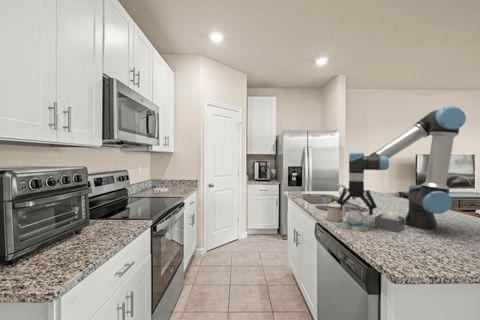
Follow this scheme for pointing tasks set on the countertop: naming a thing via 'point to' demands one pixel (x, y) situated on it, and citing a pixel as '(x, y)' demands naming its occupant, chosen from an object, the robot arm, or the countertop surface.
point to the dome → (390, 215)
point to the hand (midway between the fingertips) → (356, 218)
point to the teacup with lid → (334, 212)
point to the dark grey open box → (389, 224)
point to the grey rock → (355, 217)
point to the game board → (355, 226)
